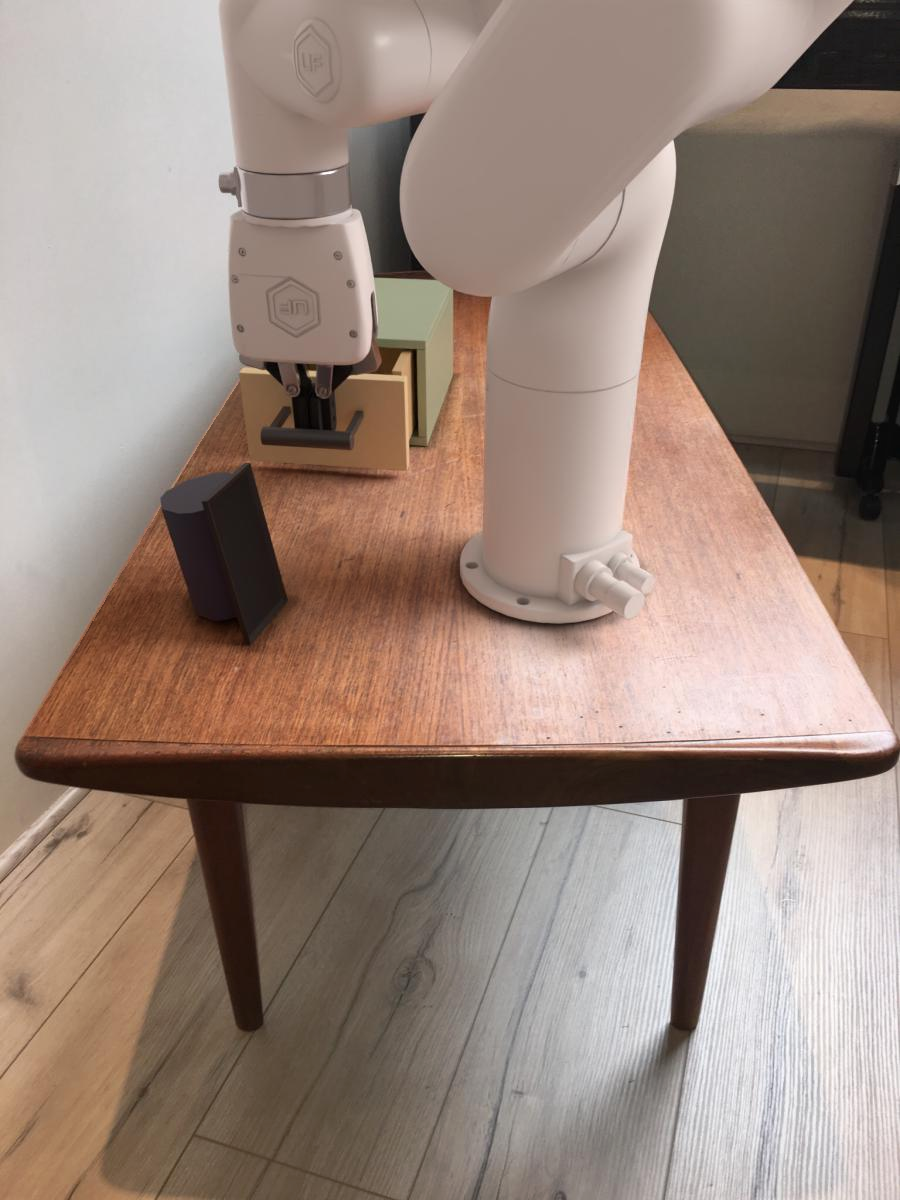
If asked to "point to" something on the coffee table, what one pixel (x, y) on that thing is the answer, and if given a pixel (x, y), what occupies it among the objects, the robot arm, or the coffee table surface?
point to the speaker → (225, 549)
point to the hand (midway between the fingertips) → (317, 438)
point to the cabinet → (419, 339)
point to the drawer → (338, 417)
